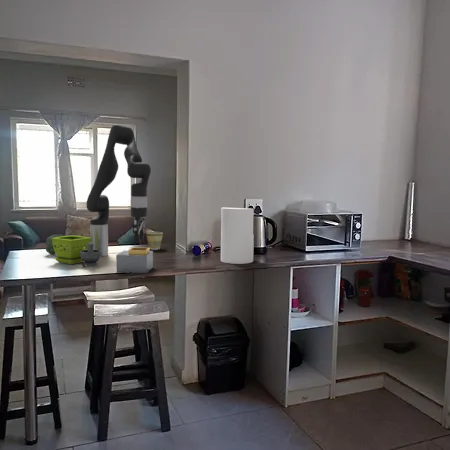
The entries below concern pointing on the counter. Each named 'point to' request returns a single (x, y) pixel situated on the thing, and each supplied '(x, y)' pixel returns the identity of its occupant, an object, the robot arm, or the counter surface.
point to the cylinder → (237, 235)
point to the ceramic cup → (154, 240)
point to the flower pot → (70, 248)
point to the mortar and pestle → (90, 255)
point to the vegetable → (51, 244)
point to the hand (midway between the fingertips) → (139, 241)
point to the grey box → (134, 260)
